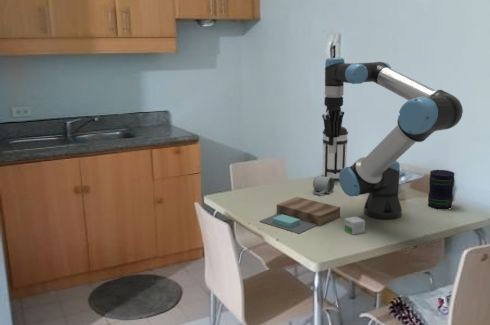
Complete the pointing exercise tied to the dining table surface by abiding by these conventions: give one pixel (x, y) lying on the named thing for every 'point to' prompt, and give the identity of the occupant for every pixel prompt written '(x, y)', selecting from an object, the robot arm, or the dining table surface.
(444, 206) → the storage jar
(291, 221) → the card
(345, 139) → the coffee press
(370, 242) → the dining table surface
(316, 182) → the ceramic mug
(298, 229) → the mat
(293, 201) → the board
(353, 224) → the small box
